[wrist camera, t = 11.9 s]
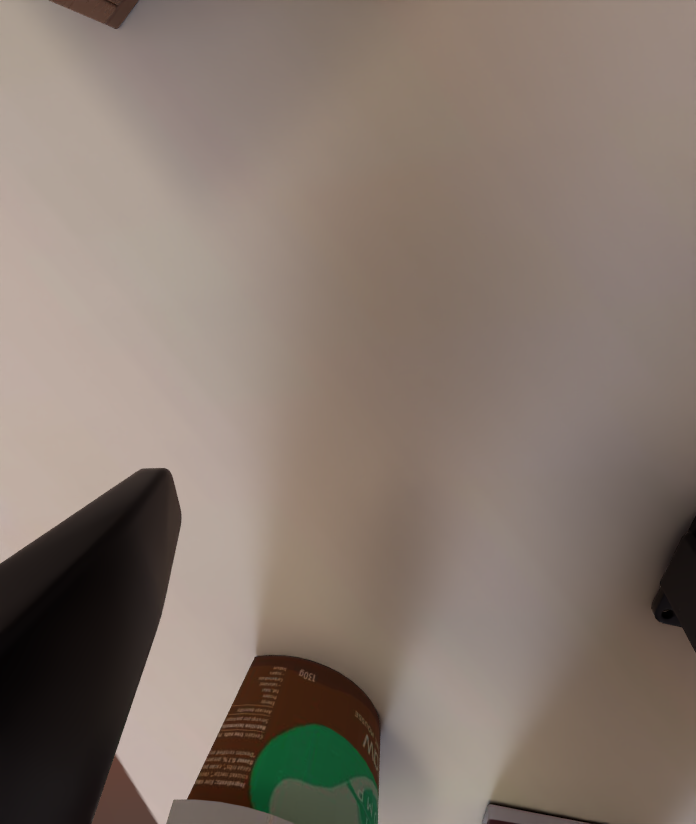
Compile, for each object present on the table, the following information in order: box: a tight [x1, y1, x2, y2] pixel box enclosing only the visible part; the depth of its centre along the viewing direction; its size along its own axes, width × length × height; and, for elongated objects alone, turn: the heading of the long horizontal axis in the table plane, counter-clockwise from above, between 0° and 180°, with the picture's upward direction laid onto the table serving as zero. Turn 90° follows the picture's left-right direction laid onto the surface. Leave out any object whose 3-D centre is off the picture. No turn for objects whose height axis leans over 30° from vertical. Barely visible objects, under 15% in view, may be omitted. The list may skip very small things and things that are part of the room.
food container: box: [166, 655, 380, 824], centre depth 24 cm, size 12×6×10 cm, turn 20°
